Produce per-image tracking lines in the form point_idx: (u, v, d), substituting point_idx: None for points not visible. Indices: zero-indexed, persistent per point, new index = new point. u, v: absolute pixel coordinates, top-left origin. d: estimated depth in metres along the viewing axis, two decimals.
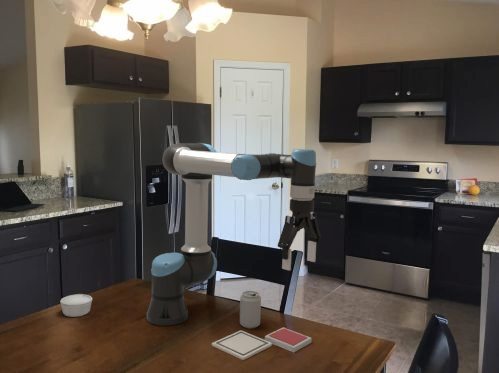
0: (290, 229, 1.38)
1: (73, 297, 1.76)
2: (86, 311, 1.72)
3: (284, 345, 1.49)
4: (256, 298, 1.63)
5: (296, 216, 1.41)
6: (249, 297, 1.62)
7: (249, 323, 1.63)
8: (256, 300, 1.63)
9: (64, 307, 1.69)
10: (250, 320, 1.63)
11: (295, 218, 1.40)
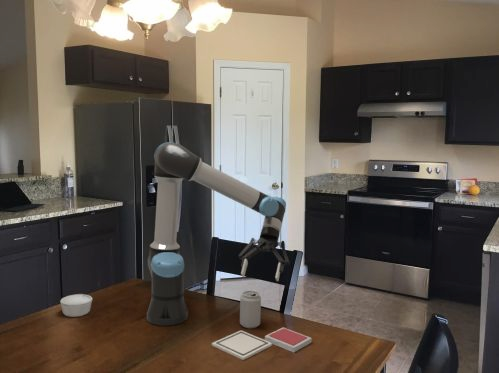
0: None
1: (73, 297, 1.76)
2: (86, 311, 1.72)
3: (284, 345, 1.49)
4: (256, 298, 1.63)
5: None
6: (249, 297, 1.62)
7: (249, 323, 1.63)
8: (256, 300, 1.63)
9: (64, 307, 1.69)
10: (250, 320, 1.63)
11: None
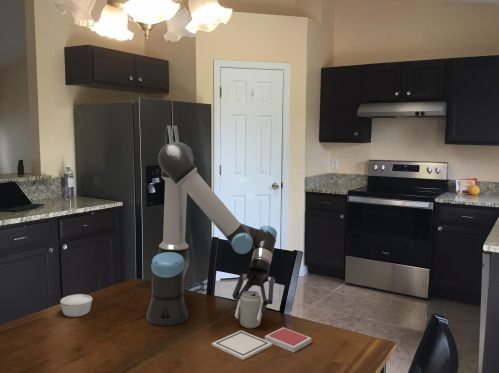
0: None
1: (73, 297, 1.76)
2: (86, 311, 1.72)
3: (284, 345, 1.49)
4: (256, 298, 1.63)
5: None
6: (249, 297, 1.62)
7: (249, 323, 1.63)
8: (256, 300, 1.63)
9: (64, 307, 1.69)
10: (250, 320, 1.63)
11: None
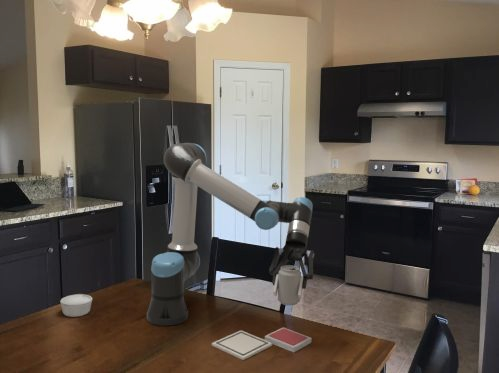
0: None
1: (73, 297, 1.76)
2: (86, 311, 1.72)
3: (284, 345, 1.49)
4: (296, 272, 1.50)
5: None
6: (289, 271, 1.49)
7: (288, 299, 1.50)
8: (297, 274, 1.50)
9: (64, 307, 1.69)
10: (290, 296, 1.50)
11: None
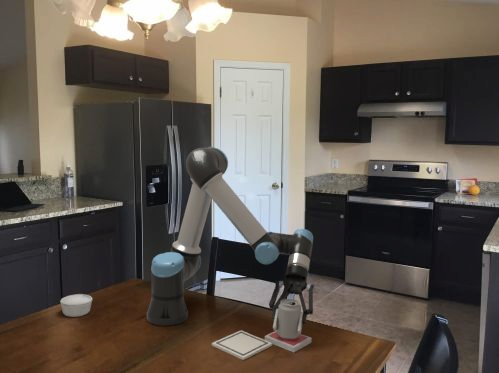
0: None
1: (73, 297, 1.76)
2: (86, 311, 1.72)
3: (284, 345, 1.49)
4: (296, 307, 1.50)
5: None
6: (289, 306, 1.50)
7: (288, 334, 1.50)
8: (297, 309, 1.50)
9: (64, 307, 1.69)
10: (290, 331, 1.50)
11: None
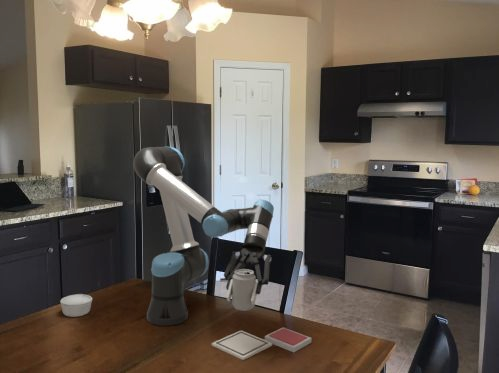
0: None
1: (73, 297, 1.76)
2: (86, 311, 1.72)
3: (284, 345, 1.49)
4: (250, 276, 1.45)
5: None
6: (243, 275, 1.45)
7: (242, 304, 1.45)
8: (251, 279, 1.45)
9: (64, 307, 1.69)
10: (243, 301, 1.45)
11: None
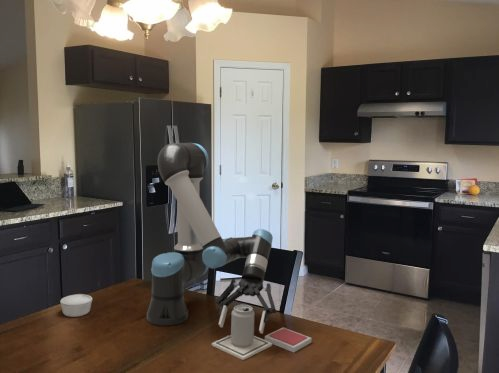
0: None
1: (73, 297, 1.76)
2: (86, 311, 1.72)
3: (284, 345, 1.49)
4: (249, 313, 1.47)
5: None
6: (242, 312, 1.46)
7: (241, 341, 1.47)
8: (249, 316, 1.46)
9: (64, 307, 1.69)
10: (242, 338, 1.46)
11: None
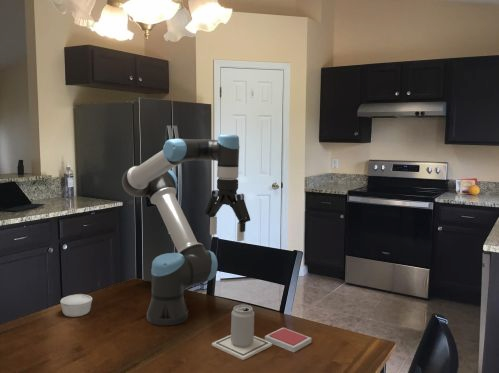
0: None
1: (73, 297, 1.76)
2: (86, 311, 1.72)
3: (284, 345, 1.49)
4: (249, 313, 1.47)
5: (236, 193, 1.61)
6: (241, 312, 1.46)
7: (240, 341, 1.47)
8: (249, 316, 1.46)
9: (64, 307, 1.69)
10: (242, 338, 1.47)
11: None
